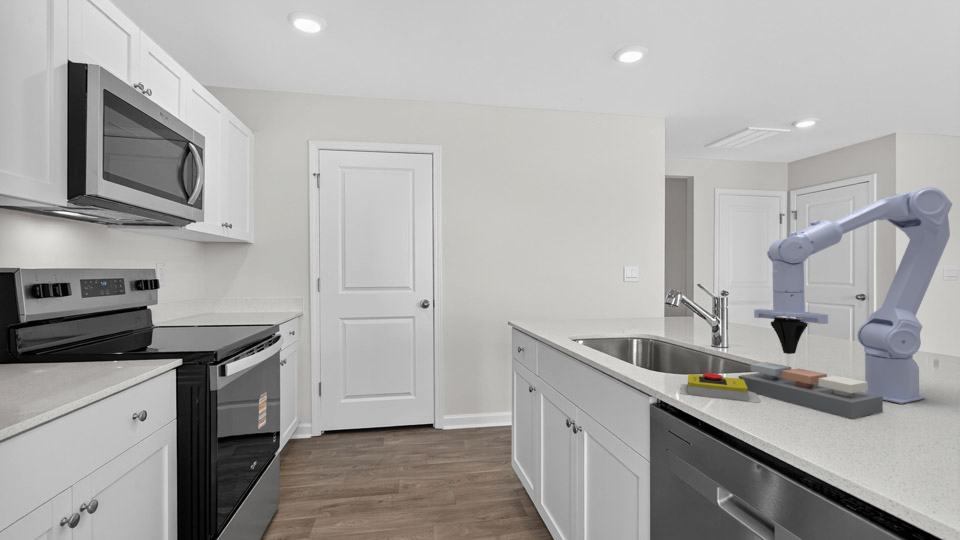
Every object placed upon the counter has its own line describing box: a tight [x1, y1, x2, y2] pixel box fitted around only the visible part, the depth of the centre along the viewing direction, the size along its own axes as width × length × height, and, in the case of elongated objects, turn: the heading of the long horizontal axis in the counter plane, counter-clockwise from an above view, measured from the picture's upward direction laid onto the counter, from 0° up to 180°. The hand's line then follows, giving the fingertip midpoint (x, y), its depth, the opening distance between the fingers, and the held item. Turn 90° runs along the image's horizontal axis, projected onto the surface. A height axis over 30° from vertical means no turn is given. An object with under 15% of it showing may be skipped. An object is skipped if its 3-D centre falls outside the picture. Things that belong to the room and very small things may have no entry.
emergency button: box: [680, 372, 761, 404], centre depth 96 cm, size 9×4×15 cm
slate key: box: [749, 361, 792, 380], centre depth 98 cm, size 6×6×4 cm
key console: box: [738, 372, 884, 420], centre depth 91 cm, size 10×22×3 cm, turn 23°
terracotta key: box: [782, 368, 828, 387], centre depth 91 cm, size 6×6×4 cm
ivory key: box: [818, 375, 868, 396], centre depth 85 cm, size 6×6×4 cm
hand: (789, 353), depth 97 cm, fingers closed
